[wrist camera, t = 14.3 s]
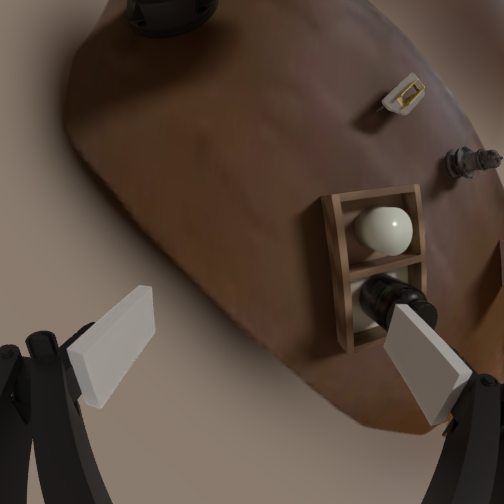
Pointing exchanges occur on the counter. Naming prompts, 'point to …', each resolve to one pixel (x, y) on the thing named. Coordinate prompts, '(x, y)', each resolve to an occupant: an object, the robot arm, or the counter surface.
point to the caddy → (368, 258)
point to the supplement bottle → (393, 300)
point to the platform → (394, 97)
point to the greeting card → (502, 259)
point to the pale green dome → (384, 230)
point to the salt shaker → (470, 161)
